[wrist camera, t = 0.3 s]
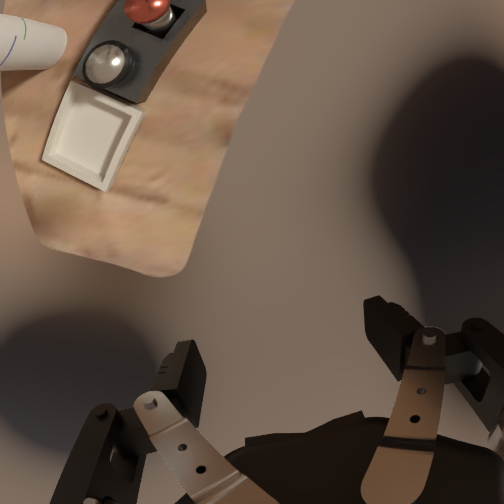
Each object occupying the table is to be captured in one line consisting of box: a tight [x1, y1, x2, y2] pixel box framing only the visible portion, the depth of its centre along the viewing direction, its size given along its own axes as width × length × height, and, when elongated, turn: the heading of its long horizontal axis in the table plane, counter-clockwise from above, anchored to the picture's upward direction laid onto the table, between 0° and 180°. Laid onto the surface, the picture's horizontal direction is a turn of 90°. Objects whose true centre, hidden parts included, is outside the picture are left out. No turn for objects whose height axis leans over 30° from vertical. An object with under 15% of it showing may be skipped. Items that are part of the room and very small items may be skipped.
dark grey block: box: [73, 0, 207, 103], centre depth 22 cm, size 10×15×8 cm, turn 147°
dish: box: [42, 81, 148, 192], centre depth 30 cm, size 12×12×3 cm
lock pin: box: [124, 0, 177, 39], centre depth 20 cm, size 4×4×11 cm
